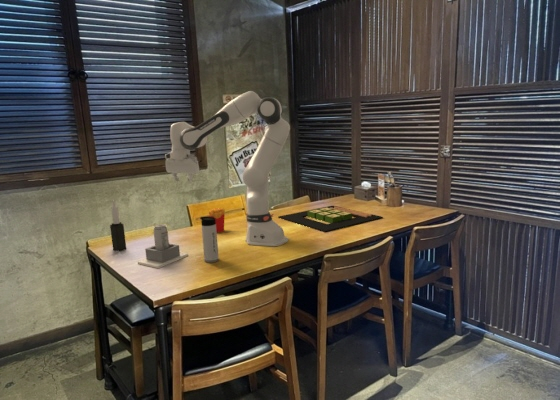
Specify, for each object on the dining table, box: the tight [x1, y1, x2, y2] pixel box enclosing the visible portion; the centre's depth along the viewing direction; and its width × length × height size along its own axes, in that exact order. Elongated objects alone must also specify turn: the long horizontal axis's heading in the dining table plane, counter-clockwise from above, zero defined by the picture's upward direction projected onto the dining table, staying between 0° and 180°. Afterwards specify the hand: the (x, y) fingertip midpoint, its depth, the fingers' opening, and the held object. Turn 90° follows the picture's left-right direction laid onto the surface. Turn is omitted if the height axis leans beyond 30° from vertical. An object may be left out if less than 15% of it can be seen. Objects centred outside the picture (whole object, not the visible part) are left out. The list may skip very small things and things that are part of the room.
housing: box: [137, 243, 189, 269], centre depth 182 cm, size 13×18×6 cm
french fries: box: [208, 207, 226, 233], centre depth 225 cm, size 9×4×13 cm, turn 117°
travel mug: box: [200, 216, 220, 264], centre depth 177 cm, size 6×7×20 cm
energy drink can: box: [153, 223, 170, 251], centre depth 181 cm, size 6×6×15 cm
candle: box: [109, 199, 127, 252], centre depth 199 cm, size 5×5×25 cm
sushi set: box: [277, 205, 384, 233], centre depth 245 cm, size 45×45×4 cm
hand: (183, 181), depth 205 cm, fingers open, 8 cm apart
